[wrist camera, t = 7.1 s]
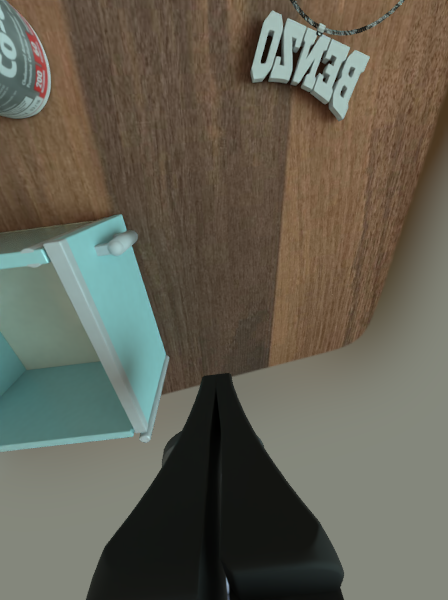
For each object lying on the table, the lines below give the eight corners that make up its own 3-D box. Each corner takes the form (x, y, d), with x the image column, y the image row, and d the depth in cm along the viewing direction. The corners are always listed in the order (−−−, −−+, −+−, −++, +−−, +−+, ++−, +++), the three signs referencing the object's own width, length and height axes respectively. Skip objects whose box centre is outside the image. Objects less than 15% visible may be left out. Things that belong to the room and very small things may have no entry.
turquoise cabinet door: (180, 352, 21) (166, 429, 15) (159, 355, 21) (135, 433, 15) (141, 211, 15) (91, 236, 9) (112, 215, 15) (41, 243, 9)
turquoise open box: (170, 360, 22) (151, 442, 15) (31, 376, 22) (-48, 465, 15) (127, 214, 16) (64, 243, 9) (-63, 238, 16) (-263, 285, 9)
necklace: (346, 124, 14) (400, 3, 12) (351, 123, 13) (409, -5, 11) (240, 81, 13) (276, -63, 10) (241, 77, 12) (279, -76, 10)
